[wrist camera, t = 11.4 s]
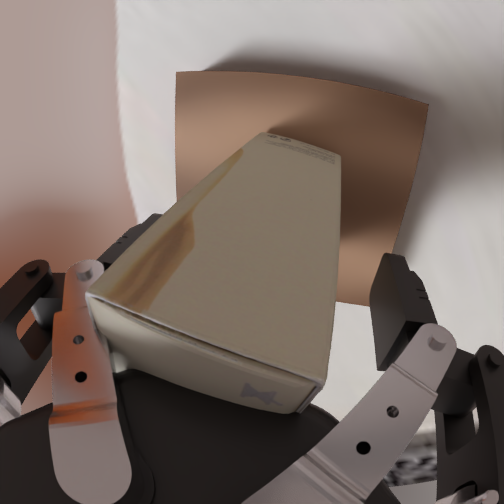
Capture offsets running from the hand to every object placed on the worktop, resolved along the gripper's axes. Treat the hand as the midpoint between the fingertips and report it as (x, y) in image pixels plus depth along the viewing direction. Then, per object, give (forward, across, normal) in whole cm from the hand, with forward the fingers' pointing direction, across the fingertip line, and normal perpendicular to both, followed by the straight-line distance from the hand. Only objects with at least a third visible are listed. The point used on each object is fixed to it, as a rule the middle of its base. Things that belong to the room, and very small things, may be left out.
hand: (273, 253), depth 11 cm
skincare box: (+6, 0, 0) cm, 6 cm away
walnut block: (+10, 0, 0) cm, 10 cm away
